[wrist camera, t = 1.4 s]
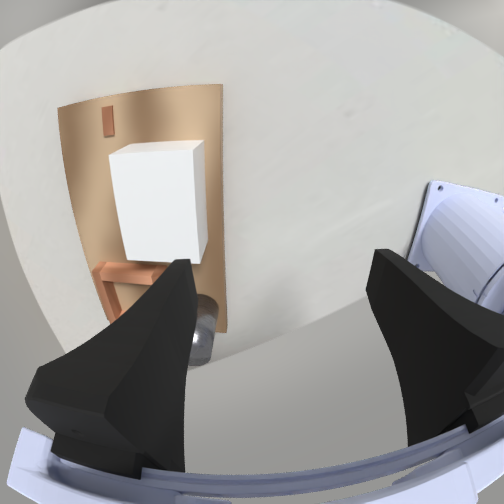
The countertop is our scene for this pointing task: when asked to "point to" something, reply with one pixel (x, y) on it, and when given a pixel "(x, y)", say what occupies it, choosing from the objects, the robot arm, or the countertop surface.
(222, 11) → the countertop surface
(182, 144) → the plain white cuboid
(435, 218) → the robot arm
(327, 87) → the countertop surface
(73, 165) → the board
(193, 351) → the grey metal cylinder
